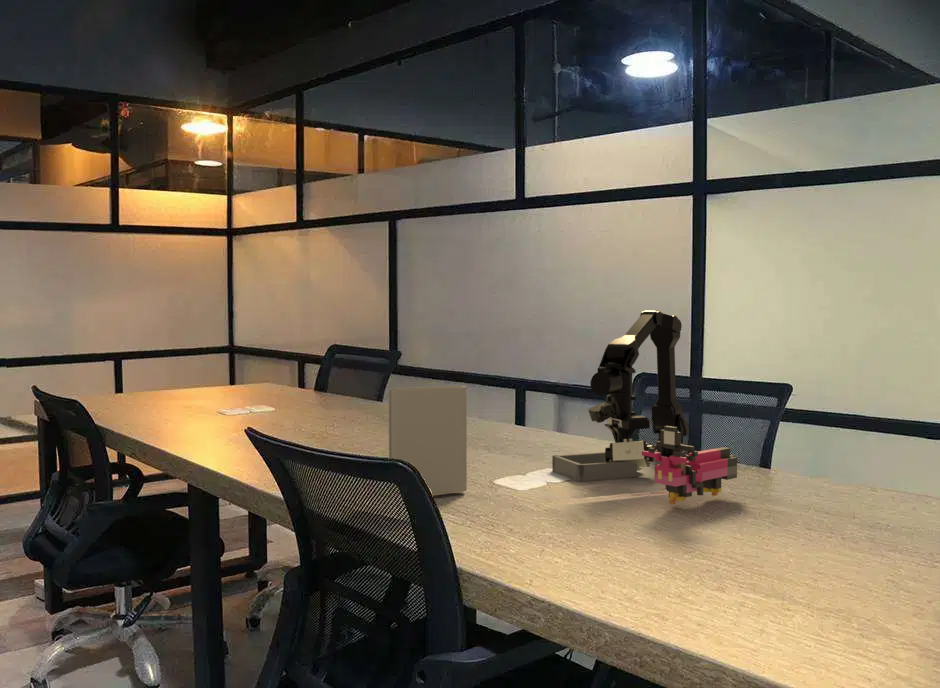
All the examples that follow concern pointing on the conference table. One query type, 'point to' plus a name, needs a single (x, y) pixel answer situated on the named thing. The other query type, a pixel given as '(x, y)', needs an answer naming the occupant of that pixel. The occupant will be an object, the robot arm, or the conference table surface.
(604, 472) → the housing bay
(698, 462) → the figurine
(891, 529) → the conference table surface
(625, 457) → the pneumatic valve
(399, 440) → the book
